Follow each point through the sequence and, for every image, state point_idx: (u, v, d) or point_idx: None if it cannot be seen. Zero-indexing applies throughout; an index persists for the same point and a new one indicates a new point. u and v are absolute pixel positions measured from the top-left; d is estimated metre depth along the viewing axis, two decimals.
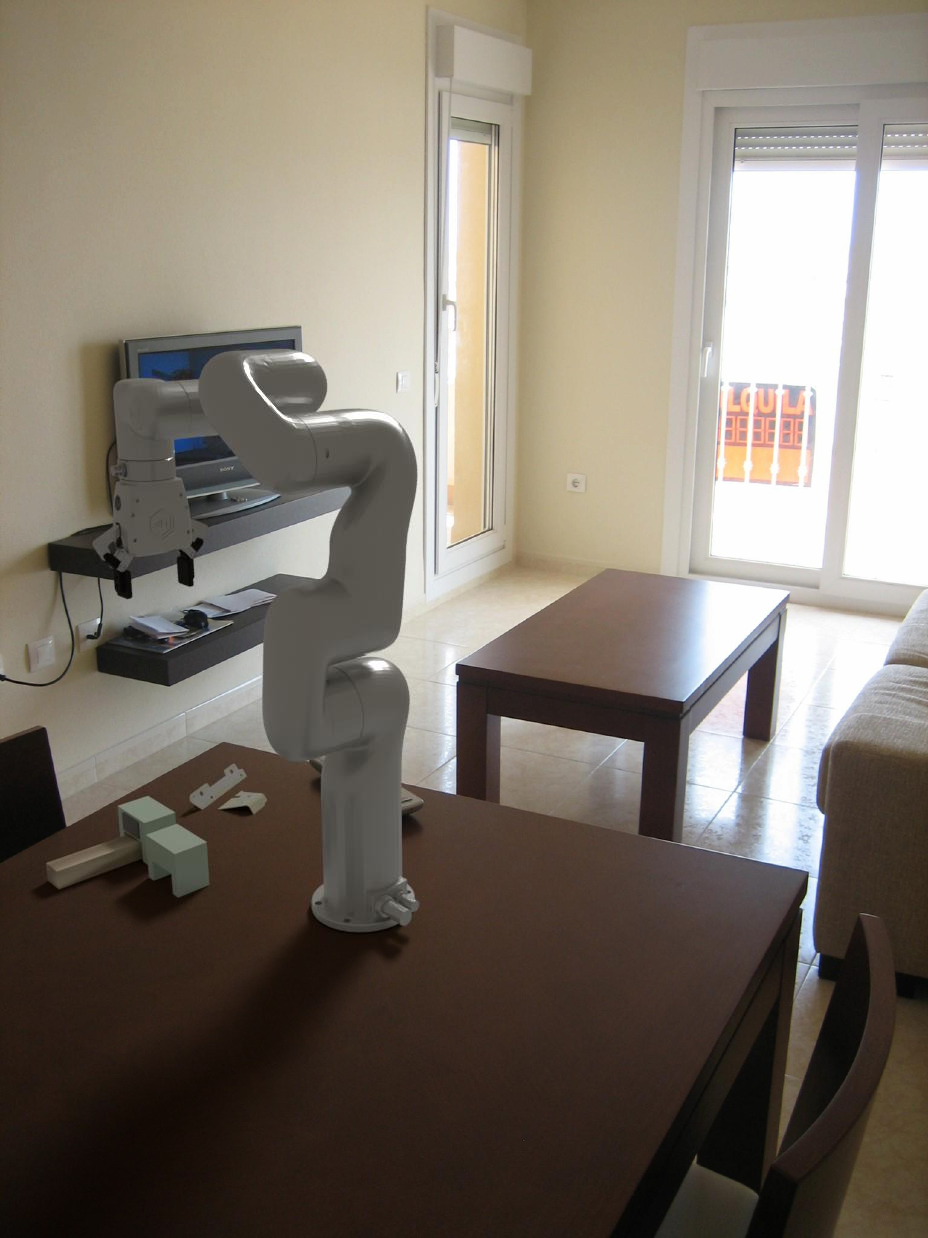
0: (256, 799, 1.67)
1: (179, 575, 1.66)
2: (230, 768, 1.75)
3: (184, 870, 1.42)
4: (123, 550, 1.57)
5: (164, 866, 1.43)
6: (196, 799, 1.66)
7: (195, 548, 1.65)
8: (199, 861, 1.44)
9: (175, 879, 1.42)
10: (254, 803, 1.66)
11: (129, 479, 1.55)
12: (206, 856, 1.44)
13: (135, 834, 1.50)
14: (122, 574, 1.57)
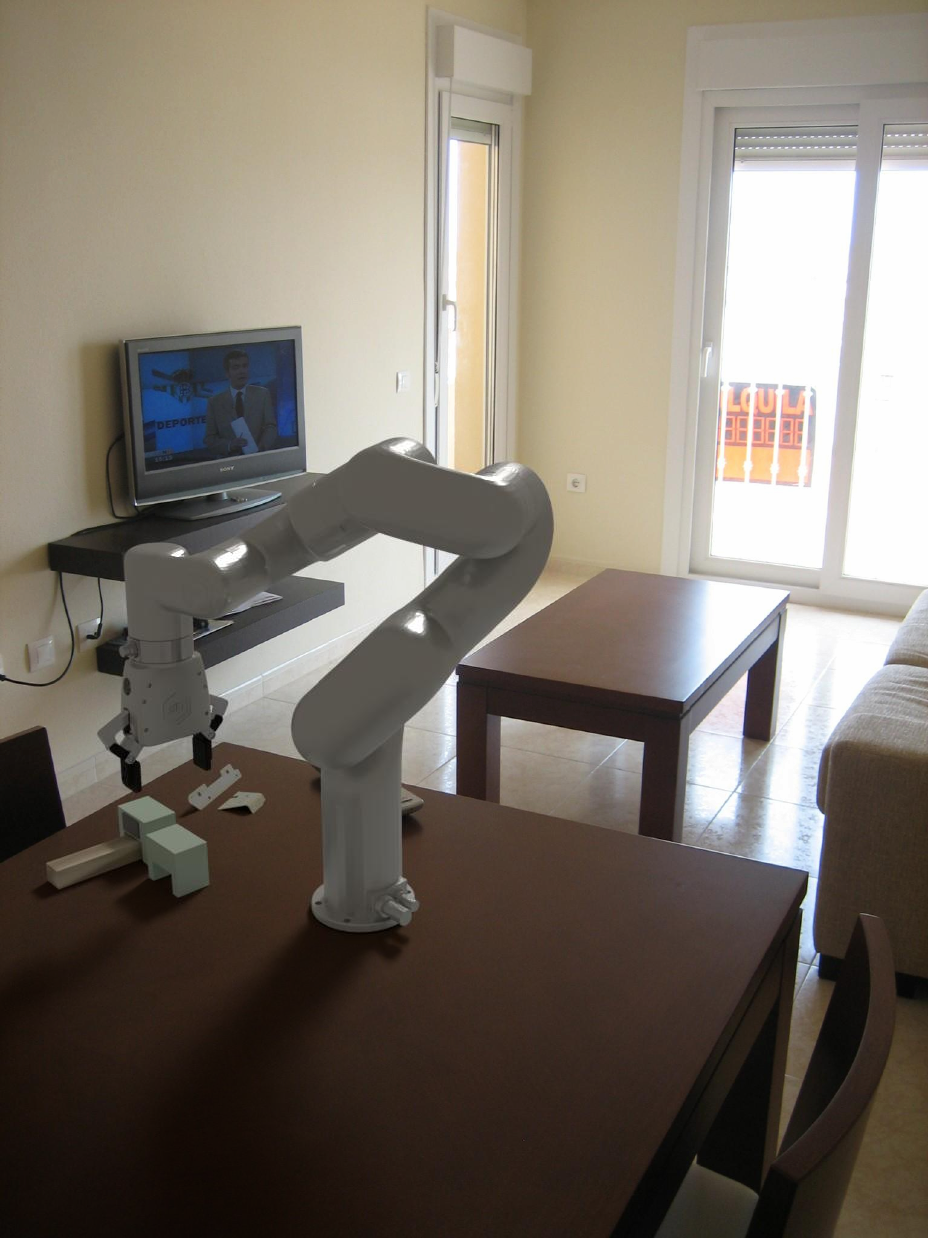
0: (255, 799, 1.67)
1: (195, 756, 1.46)
2: (226, 768, 1.75)
3: (184, 870, 1.42)
4: (132, 738, 1.37)
5: (164, 866, 1.43)
6: (195, 800, 1.66)
7: (213, 727, 1.45)
8: (199, 861, 1.44)
9: (175, 879, 1.42)
10: (253, 803, 1.66)
11: (141, 661, 1.34)
12: (206, 856, 1.44)
13: (135, 834, 1.50)
14: (130, 766, 1.37)
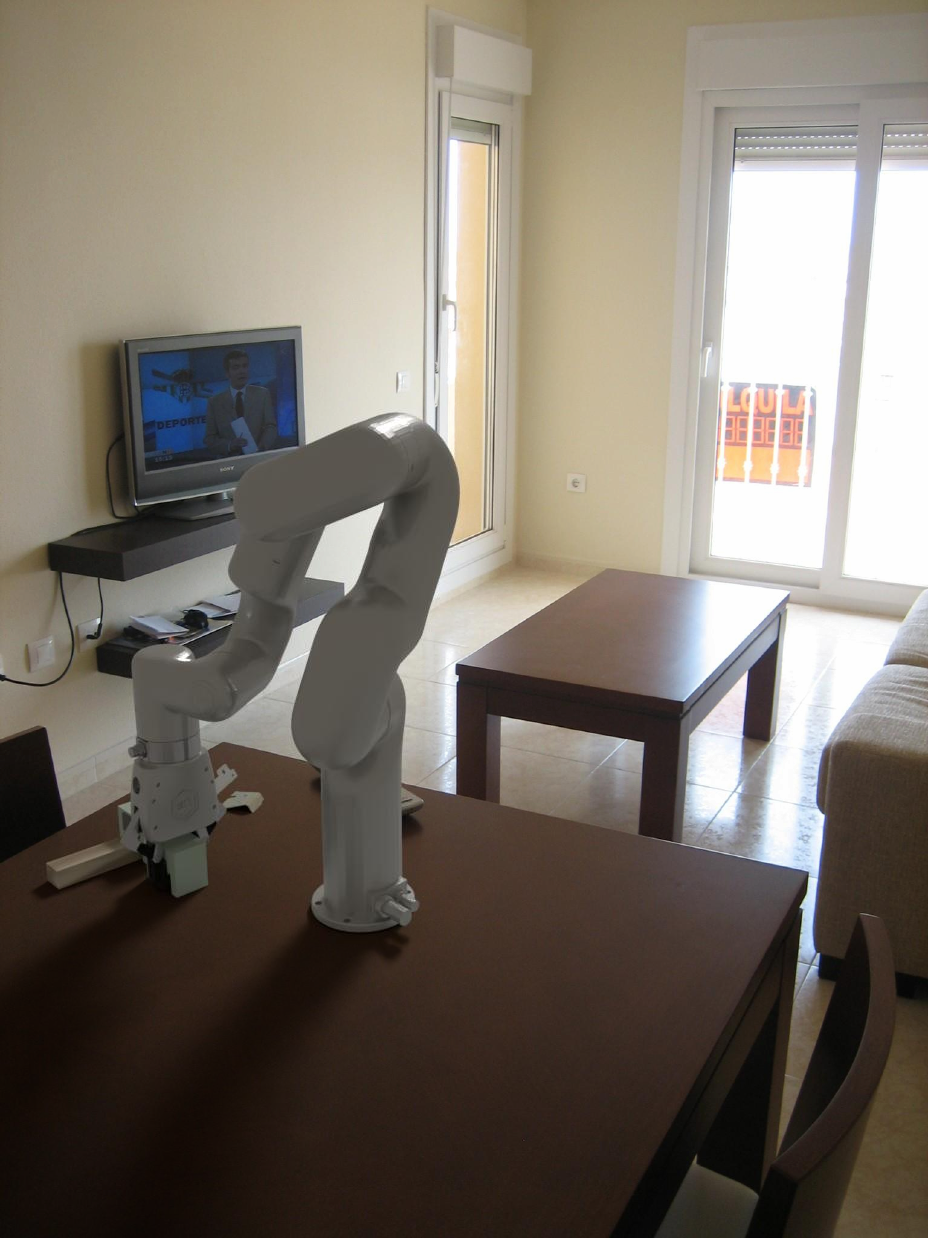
0: (254, 798, 1.67)
1: None
2: (222, 768, 1.75)
3: (183, 870, 1.42)
4: None
5: None
6: None
7: (209, 834, 1.47)
8: (198, 861, 1.43)
9: (174, 879, 1.42)
10: (252, 802, 1.66)
11: (149, 761, 1.38)
12: (205, 856, 1.44)
13: None
14: (157, 864, 1.42)
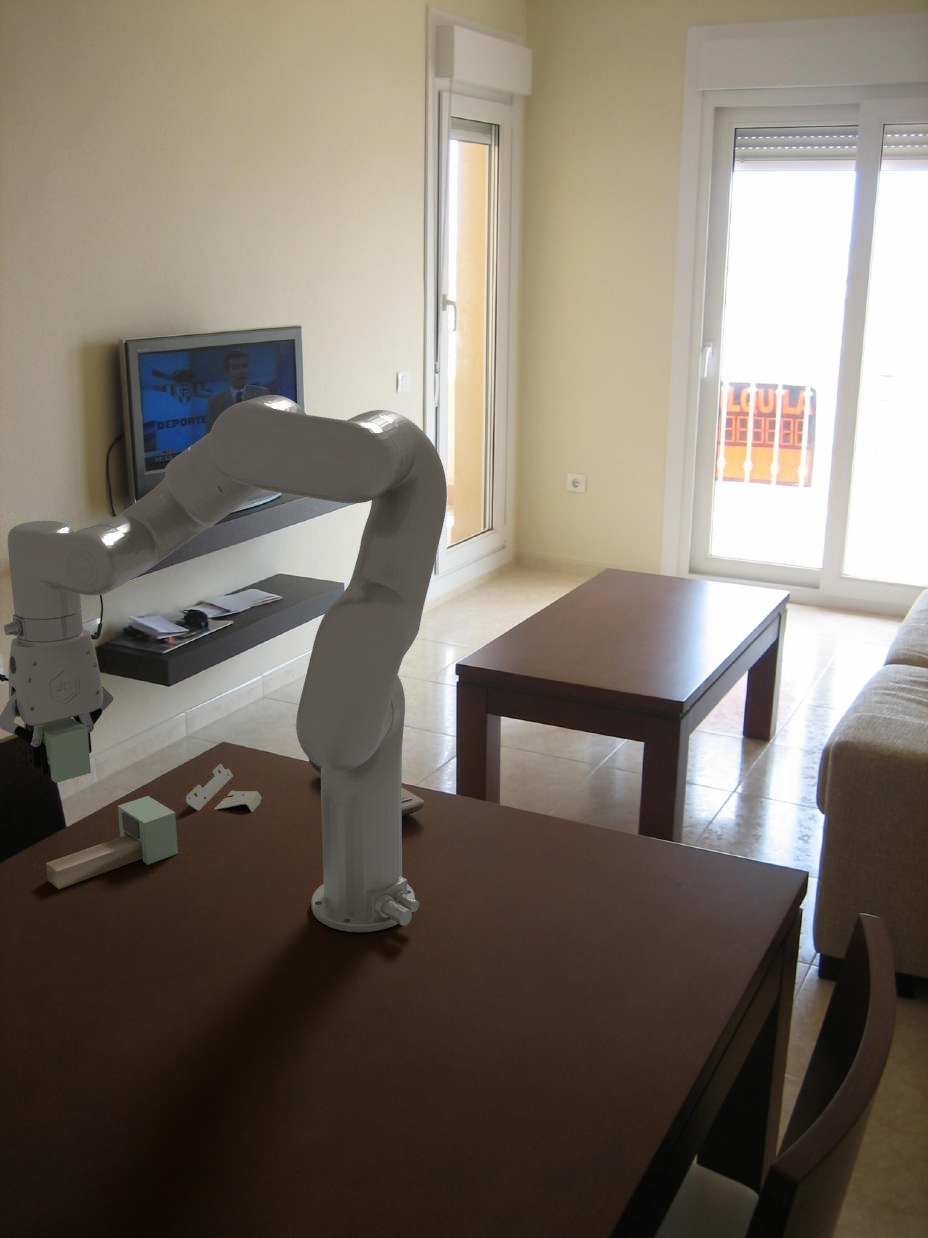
0: (252, 797, 1.67)
1: None
2: (218, 768, 1.75)
3: (62, 755, 1.38)
4: None
5: None
6: (192, 801, 1.65)
7: (94, 722, 1.43)
8: (79, 747, 1.40)
9: (53, 763, 1.38)
10: (251, 801, 1.67)
11: (26, 639, 1.34)
12: (87, 742, 1.40)
13: (135, 834, 1.50)
14: (36, 749, 1.39)
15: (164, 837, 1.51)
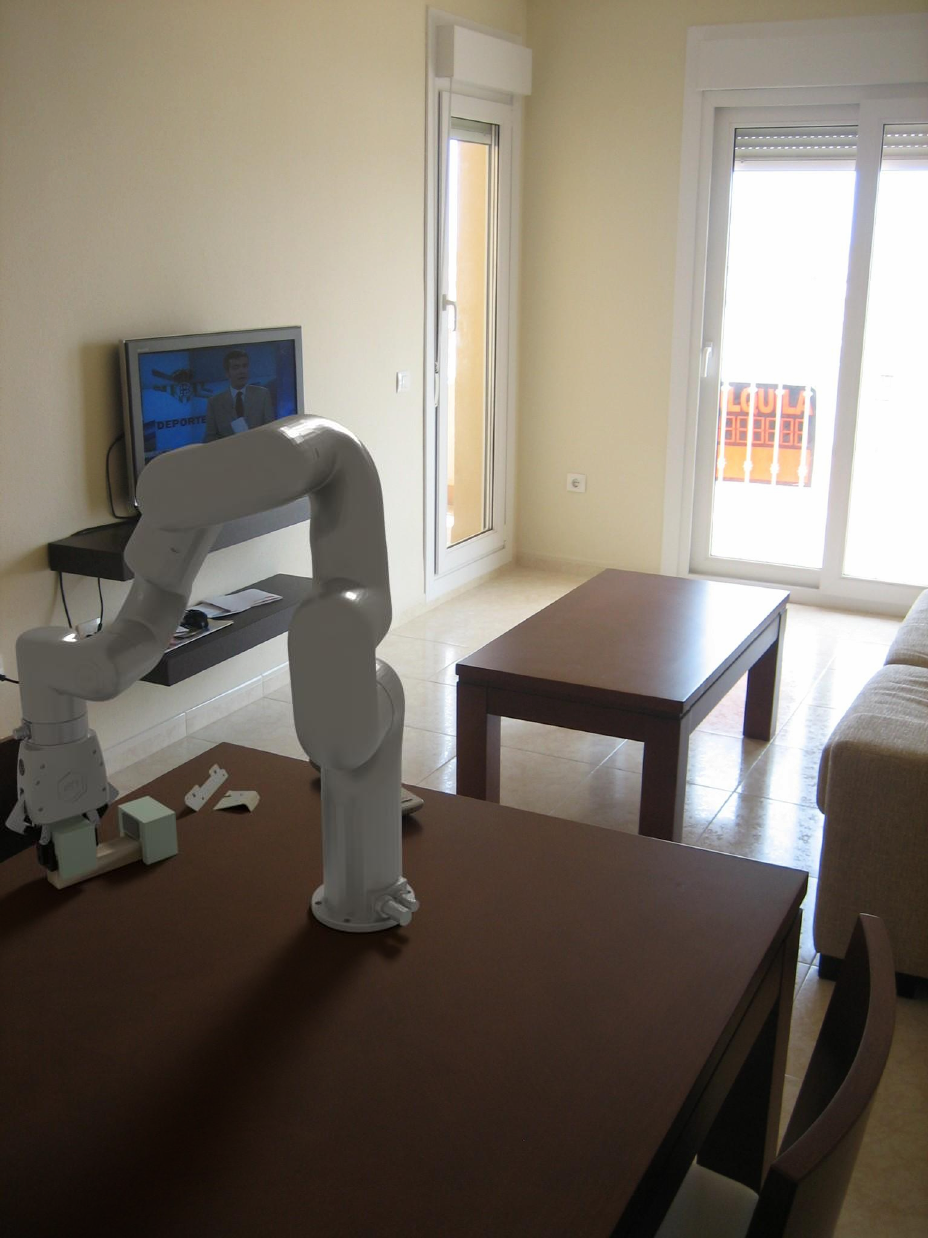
0: (251, 797, 1.68)
1: None
2: (213, 768, 1.75)
3: (70, 852, 1.42)
4: None
5: None
6: (190, 802, 1.65)
7: (100, 817, 1.47)
8: (86, 843, 1.43)
9: (61, 860, 1.42)
10: (250, 801, 1.67)
11: (34, 742, 1.38)
12: (94, 838, 1.44)
13: (135, 834, 1.50)
14: (45, 846, 1.42)
15: (164, 837, 1.51)
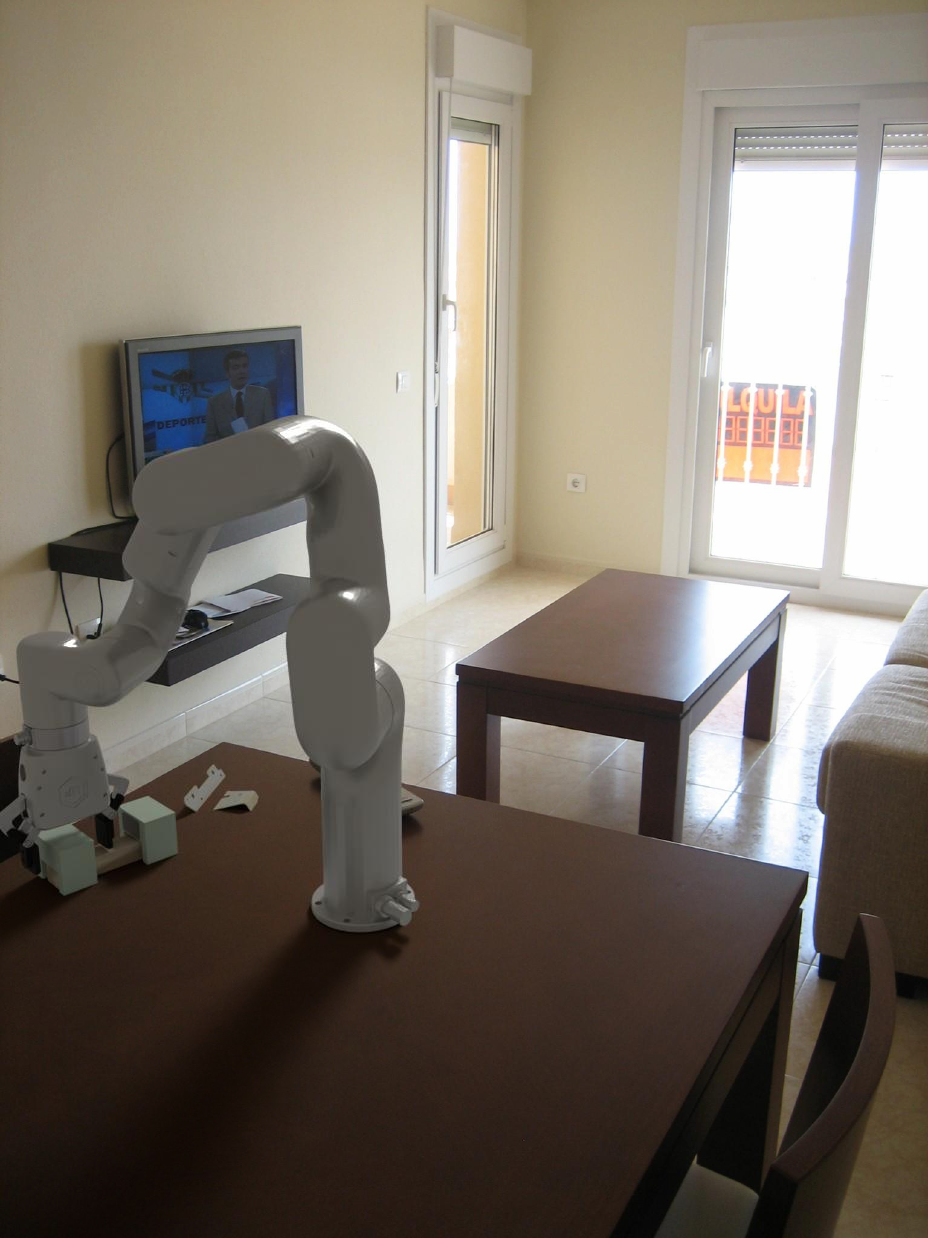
0: (250, 796, 1.68)
1: (97, 834, 1.49)
2: (211, 769, 1.74)
3: (70, 868, 1.42)
4: (30, 822, 1.41)
5: (51, 864, 1.44)
6: (190, 802, 1.65)
7: (115, 806, 1.48)
8: (86, 859, 1.44)
9: (61, 877, 1.42)
10: (249, 800, 1.67)
11: (35, 748, 1.38)
12: (93, 854, 1.44)
13: (135, 834, 1.50)
14: (29, 849, 1.41)
15: (164, 837, 1.51)
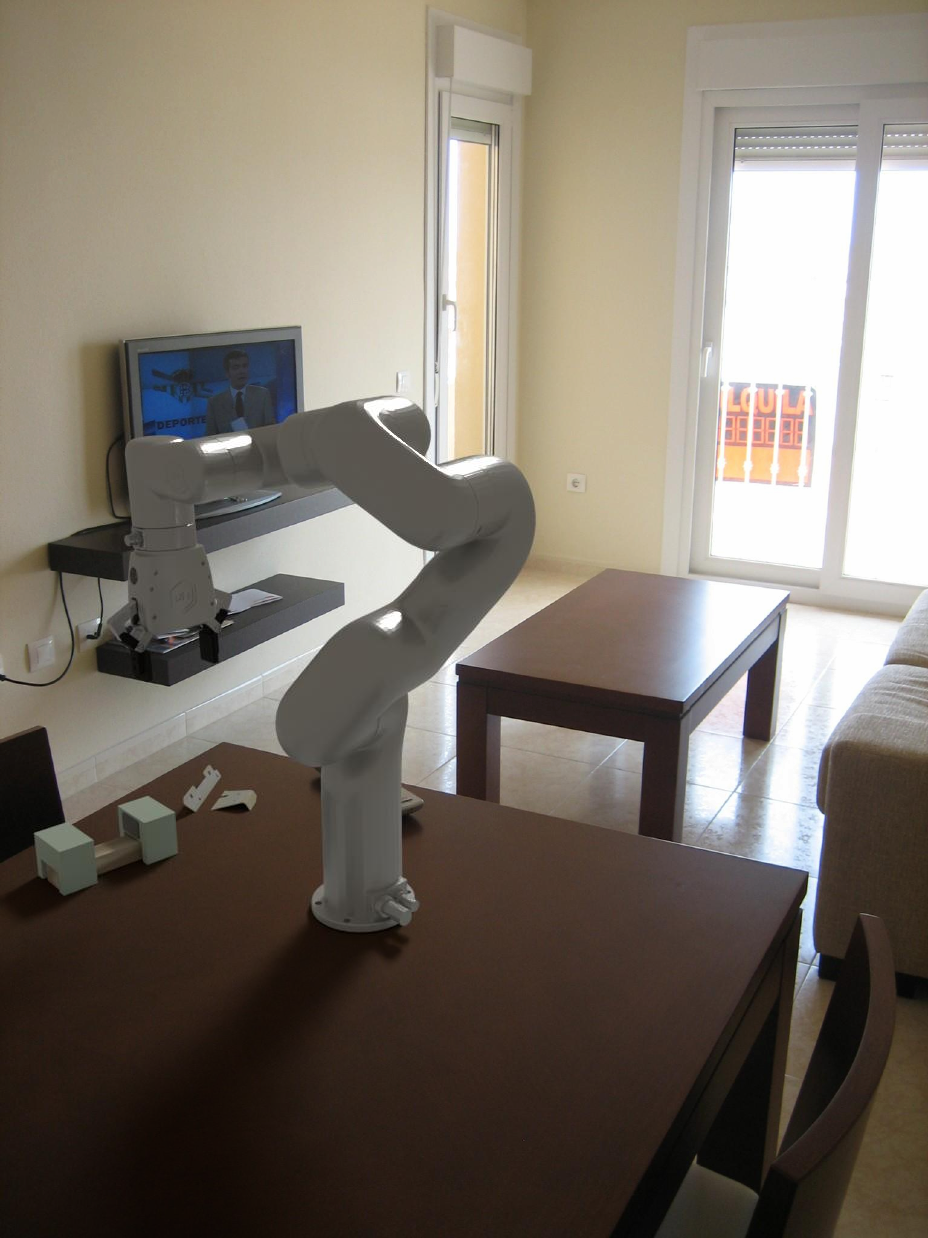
0: (249, 796, 1.68)
1: (202, 651, 1.49)
2: (207, 769, 1.74)
3: (70, 868, 1.42)
4: (141, 628, 1.41)
5: (51, 864, 1.44)
6: (189, 802, 1.65)
7: (219, 620, 1.48)
8: (86, 859, 1.44)
9: (61, 877, 1.42)
10: (248, 800, 1.67)
11: (146, 549, 1.38)
12: (93, 854, 1.44)
13: (135, 834, 1.50)
14: (141, 655, 1.40)
15: (164, 837, 1.51)
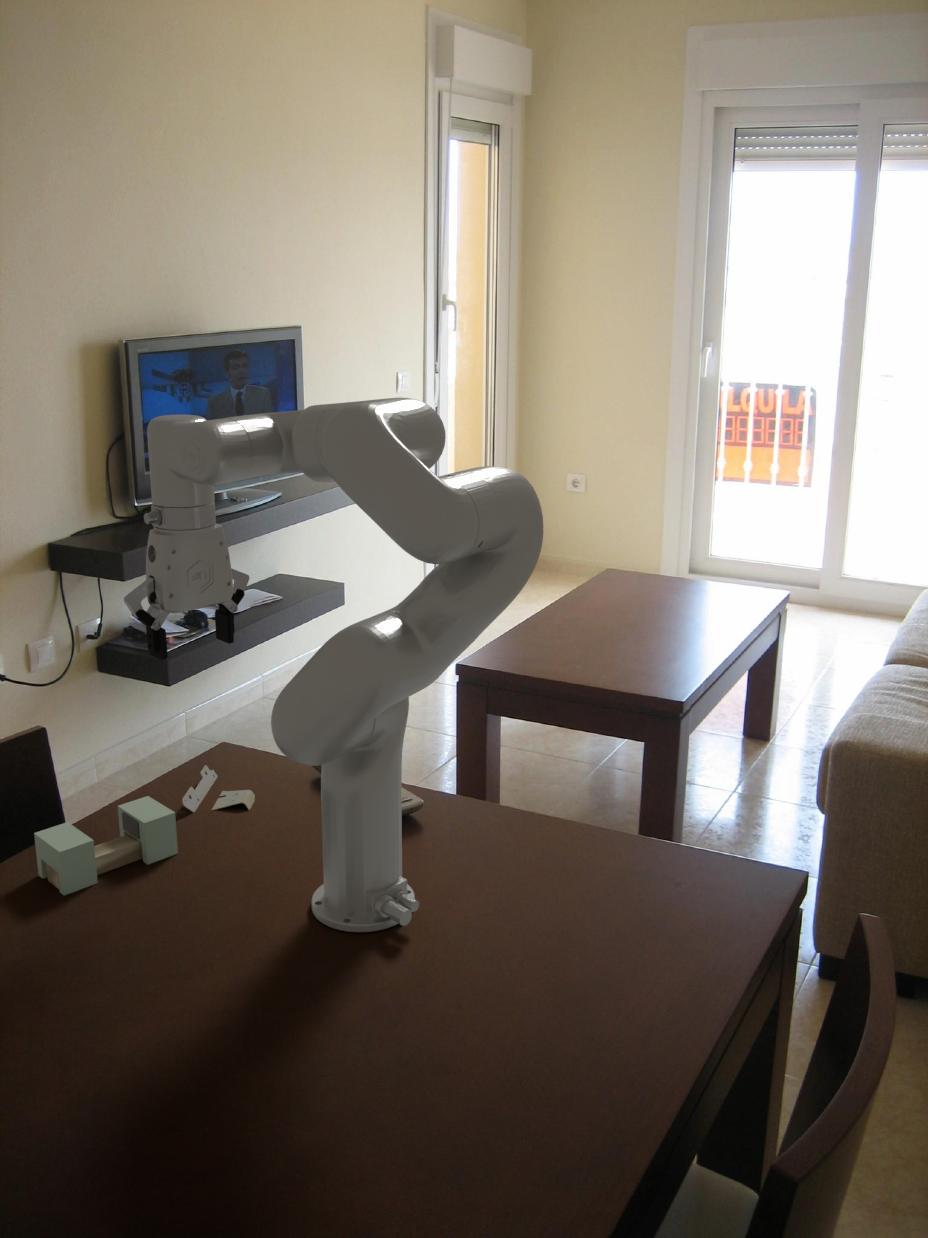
0: (247, 795, 1.68)
1: (217, 630, 1.50)
2: (204, 770, 1.74)
3: (70, 868, 1.42)
4: (157, 606, 1.41)
5: (51, 864, 1.44)
6: (188, 803, 1.65)
7: (235, 601, 1.49)
8: (86, 859, 1.44)
9: (61, 877, 1.42)
10: (247, 799, 1.67)
11: (165, 528, 1.38)
12: (93, 854, 1.44)
13: (135, 834, 1.50)
14: (156, 632, 1.41)
15: (164, 837, 1.51)
